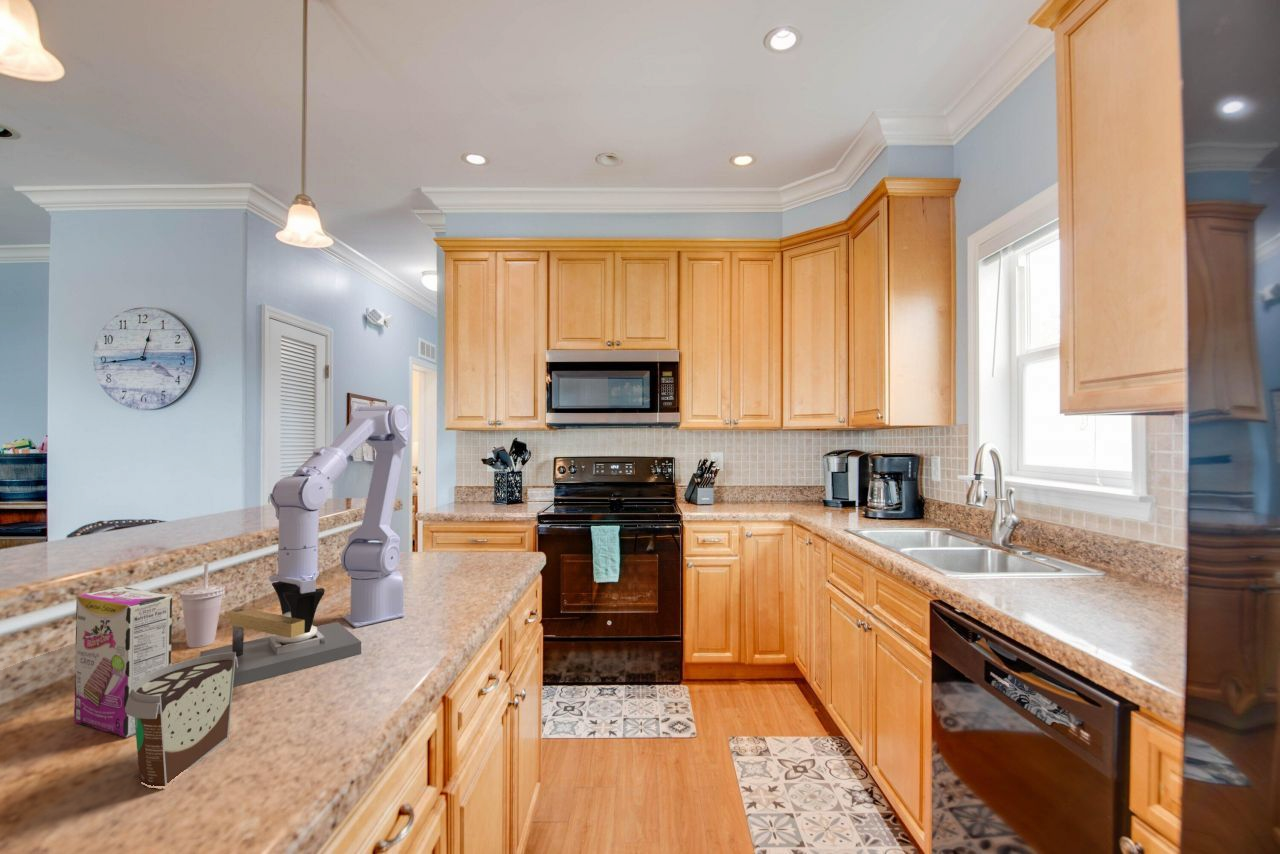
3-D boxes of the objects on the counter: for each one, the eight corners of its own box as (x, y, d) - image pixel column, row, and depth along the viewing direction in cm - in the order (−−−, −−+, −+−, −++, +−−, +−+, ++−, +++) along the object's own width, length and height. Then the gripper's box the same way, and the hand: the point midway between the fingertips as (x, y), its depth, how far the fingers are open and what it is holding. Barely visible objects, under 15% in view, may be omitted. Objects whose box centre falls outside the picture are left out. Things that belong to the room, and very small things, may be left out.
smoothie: (233, 637, 96) (235, 561, 97) (200, 651, 90) (202, 569, 90) (201, 636, 97) (204, 560, 97) (167, 650, 91) (169, 568, 91)
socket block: (337, 632, 99) (337, 616, 99) (361, 653, 89) (361, 635, 89) (200, 663, 85) (200, 645, 85) (209, 693, 75) (210, 672, 75)
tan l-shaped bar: (303, 667, 78) (304, 620, 79) (290, 672, 76) (291, 624, 77) (241, 652, 84) (242, 608, 84) (227, 656, 82) (228, 611, 82)
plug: (312, 634, 92) (312, 606, 93) (320, 643, 88) (321, 613, 89) (272, 643, 88) (273, 613, 89) (279, 653, 84) (280, 621, 84)
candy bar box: (69, 724, 67) (73, 595, 67) (119, 706, 71) (122, 585, 72) (123, 741, 63) (127, 603, 64) (172, 720, 68) (175, 592, 68)
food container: (184, 734, 64) (186, 652, 65) (236, 731, 65) (238, 650, 65) (87, 802, 52) (90, 701, 53) (153, 798, 53) (155, 698, 53)
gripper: (262, 543, 91) (260, 622, 91) (279, 556, 81) (277, 645, 80) (308, 538, 96) (307, 613, 96) (330, 550, 86) (329, 633, 85)
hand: (296, 627), depth 88 cm, fingers open, 7 cm apart
